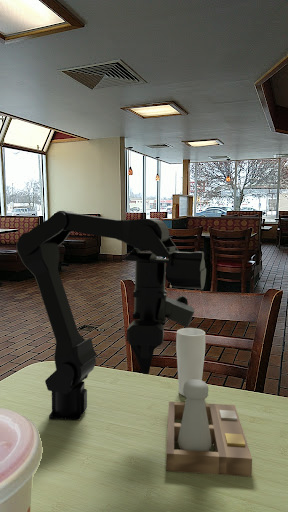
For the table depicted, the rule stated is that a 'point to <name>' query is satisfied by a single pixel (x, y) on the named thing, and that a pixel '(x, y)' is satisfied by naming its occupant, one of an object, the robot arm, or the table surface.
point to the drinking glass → (190, 355)
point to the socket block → (222, 436)
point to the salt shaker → (195, 418)
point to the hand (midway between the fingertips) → (147, 364)
